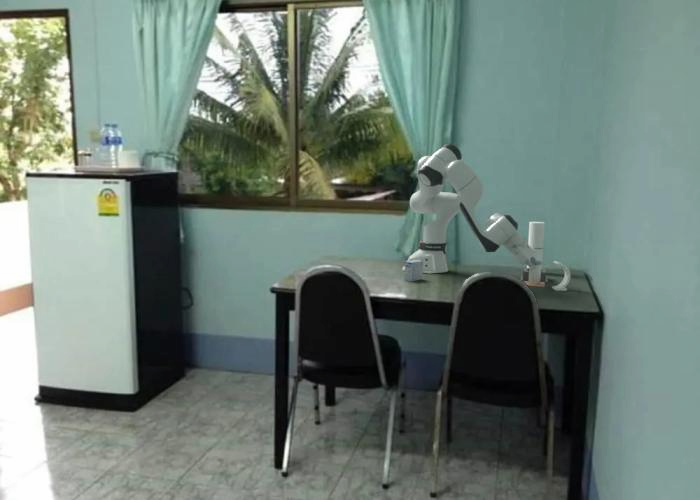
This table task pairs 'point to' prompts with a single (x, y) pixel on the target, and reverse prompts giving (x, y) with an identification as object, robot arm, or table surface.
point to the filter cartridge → (535, 273)
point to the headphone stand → (565, 281)
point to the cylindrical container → (536, 239)
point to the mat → (542, 284)
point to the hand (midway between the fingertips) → (536, 267)
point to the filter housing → (526, 275)
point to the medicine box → (413, 270)
